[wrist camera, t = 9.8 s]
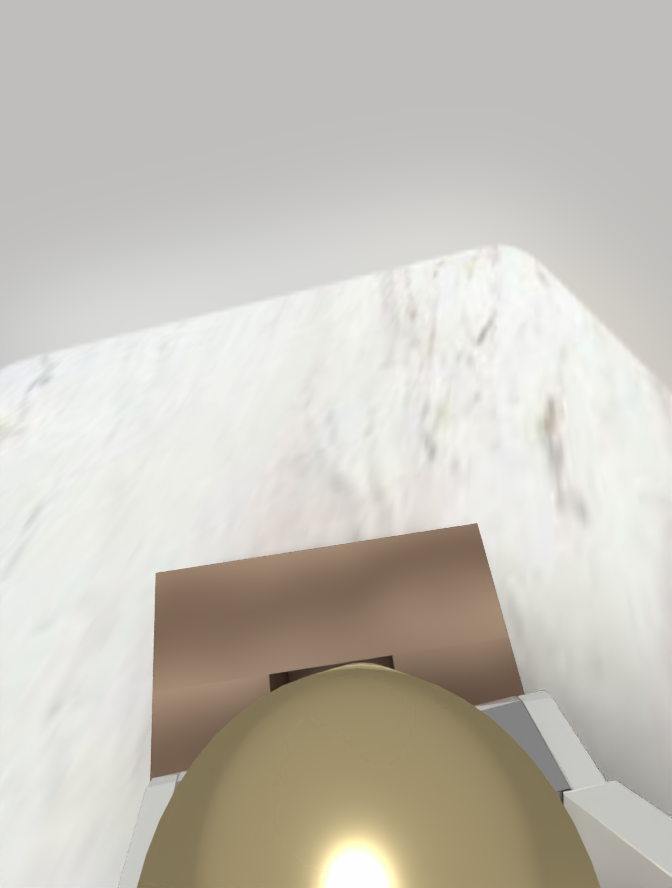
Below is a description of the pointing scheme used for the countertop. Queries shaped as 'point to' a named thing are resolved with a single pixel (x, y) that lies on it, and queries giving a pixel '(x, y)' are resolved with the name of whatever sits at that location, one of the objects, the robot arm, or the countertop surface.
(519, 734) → the robot arm
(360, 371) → the countertop surface
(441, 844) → the pin
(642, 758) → the countertop surface
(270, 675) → the hole block
